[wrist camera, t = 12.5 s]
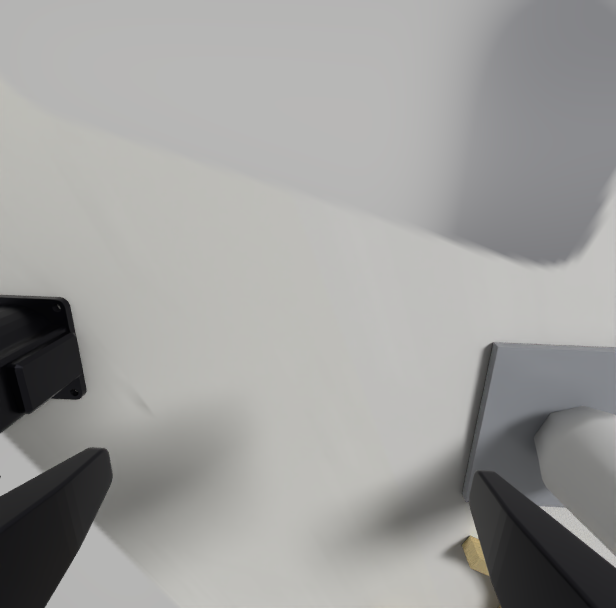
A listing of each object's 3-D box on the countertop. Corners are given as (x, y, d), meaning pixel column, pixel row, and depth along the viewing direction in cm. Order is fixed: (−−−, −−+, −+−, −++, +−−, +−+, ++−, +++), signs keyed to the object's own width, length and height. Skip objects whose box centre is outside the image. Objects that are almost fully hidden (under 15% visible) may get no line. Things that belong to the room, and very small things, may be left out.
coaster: (461, 494, 24) (465, 501, 23) (493, 342, 20) (498, 347, 20) (633, 503, 23) (640, 511, 23) (695, 351, 20) (705, 355, 19)
